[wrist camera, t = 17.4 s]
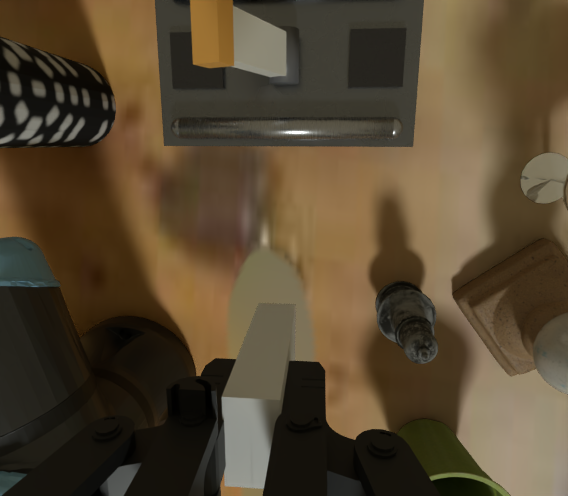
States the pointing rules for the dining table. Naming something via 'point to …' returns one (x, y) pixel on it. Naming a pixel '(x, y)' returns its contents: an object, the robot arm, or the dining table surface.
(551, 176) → the wineglass
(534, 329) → the candle holder
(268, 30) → the breaker lever
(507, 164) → the dining table surface
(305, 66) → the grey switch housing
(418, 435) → the plant pot
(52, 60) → the spotted tube
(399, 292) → the salt shaker
